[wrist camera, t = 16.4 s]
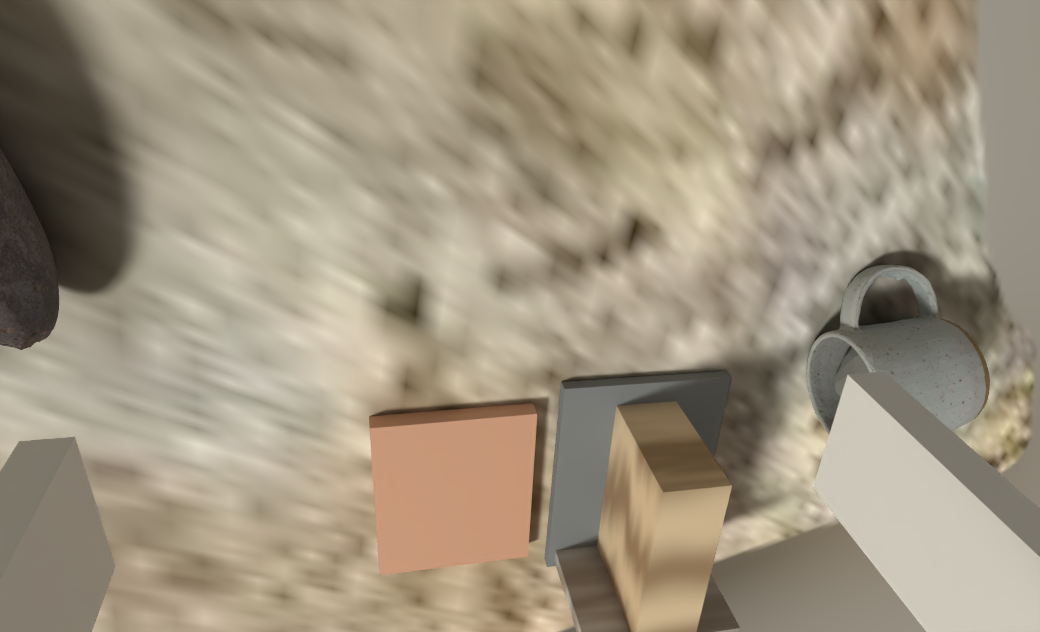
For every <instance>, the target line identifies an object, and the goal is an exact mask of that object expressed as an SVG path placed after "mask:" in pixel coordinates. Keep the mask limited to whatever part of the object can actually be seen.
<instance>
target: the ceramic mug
mask: <svg viewBox="0 0 1040 632" xmlns="http://www.w3.org/2000/svg"><path fill="white" fill-rule="evenodd" d="M878 277H892V278H894V279H896V280H900V279H906V280H907V281H908V283H909V284H910V285H911V287H912V289H913V292H914V294H915V295H916V300H917V304H918V313H919V315H918V317H917V318H910V319H903V320H898V321H895V322H889V323H881V324H873V325H864V326H859V324H858V322H859V316H860V310H861V305H862V302H863V298H864V295H865V293H866V291H867V290H868V288H869V286H871V285H872V284H873V282H874V280H875V279H876V278H878ZM874 372H885V373H886V374H887V375H889V376H890V377H891V378H892V379H893V380H894V381H895V382H896V383H898V384H899V385H900V386H901V387H902V388H903V389H904V390H906V391H907V392H908V393H909V394H910V395H911V396H912V397H914V398H915V399H916V400H917V401H918V402H919V403H920V404H921V405H923V406H924V407H925V408H926V409H927V410H928V411H929V412H931V413H932V414H933V415H934V416H935V417H936V418H937V419H939V420H940V421H941V422H942V423H943V424H944V425H945V426H947V427H948V428H949V429H950V430H951V431H952V430H954V429H956V428H959V427H961V426H962V425H964V424H966V423H968V422H970V421H971V420H973V419H974V418H976V417H977V416H978V415H979V414H980V412H981V411H982V409H983V408H984V406H985V404H986V402H987V399H988V395H989V384H990V379H989V371H988V368H987V364H986V361H985V359H984V356H983V354H982V352H981V350H980V349H979V347H978V345H977V343H976V342H975V341H974V340H973V339H972V338H971V337H970V336H969V335H968V333H967V332H965V331H964V330H963V329H962V328H960V327H959V326H958V325H956V324H954V323H952V322H949V321H947V320H943V319H939V318H938V302H937V299H936V294H935V292H934V290H933V287H932V285H931V283H930V282H929V280H928V279H927V278H926V277H925V276H924V275H923V274H921V273H920V272H918V271H917V270H915V269H913V268H911V267H907V266H901V265H877V266H873V267H870V268H867V269H865V270H864V271H862V272H860V273H859V274H858V275H857V276H856V277H855V278H854V279H853V280H852V281H851V283H850V284H849V285H848V288H847V290H846V291H845V293H844V297H843V300H842V307H841V314H840V327H839V329H837V330H833V331H829V332H826V333H824V334H822V335H821V336H819V337H818V338H817V339H816V340H815V342H814V343H813V345H812V347H811V349H810V352H809V356H808V360H807V373H806V374H807V387H808V391H809V394H810V399H811V402H812V405H813V408H814V410H815V413H816V415H817V417H818V419H819V420H820V422H821V424H822V426H823V427H824V429H825V430H826V431H827V433H828V434H830V431H831V427H832V424H833V421H834V418H835V414H836V411H837V408H838V405H839V401H840V398H841V395H842V391H843V388H844V385H845V382H846V378H847V375H849V374H861V373H874Z"/></svg>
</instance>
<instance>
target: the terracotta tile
mask: <svg viewBox="0 0 1040 632" xmlns="http://www.w3.org/2000/svg"><path fill="white" fill-rule="evenodd" d="M369 423H370V440H371V455H372V469H373V484H374V498H375V513H376V528H377V542H378V557H379V572H380V575H385V574H393V573H401V572H409V571H417V570H425V569H433V568H441V567H449V566H457V565H465V564H473V563H481V562H488V561H496V560H504V559H512V558H520V557H528V548H529V532H530V517H531V502H532V487H533V472H534V456H535V441H536V426H537V412H536V409H535V406H534V404H533V403H526V404H514V405H502V406H489V407H477V408H465V409H453V410H441V411H429V412H416V413H404V414H392V415H380V416H369Z"/></svg>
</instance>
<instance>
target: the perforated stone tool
mask: <svg viewBox="0 0 1040 632" xmlns="http://www.w3.org/2000/svg"><path fill="white" fill-rule="evenodd" d="M58 310H59V288H58V278H57V273H56V267H55V262H54V258H53V255H52V251H51V248H50V245H49V242H48V239H47V237H46V234H45V231H44V229H43V227H42V225H41V223H40V221H39V219H38V217H37V215H36V212H35V210H34V208H33V206H32V204H31V202H30V200H29V198H28V197H27V195H26V193H25V191H24V188H23V187H22V185H21V183H20V181H19V179H18V178H17V176H16V174H15V172H14V171H13V169H12V167H11V165H10V163H9V161H8V160H7V158H6V156H5V154H4V153H3V151H2V149H1V147H0V344H1V345H3V346H9V347H14V348H17V349H20V350H22V349H24V348H28V347H31V346H32V345H33V344H34V343H36V342H40V341H41V340H43V339H45V338H47V337H48V336H49V335H50V333H51V331H52V330H53V329H54V326H55V323H56V321H57V317H58Z"/></svg>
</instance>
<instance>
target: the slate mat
mask: <svg viewBox="0 0 1040 632" xmlns="http://www.w3.org/2000/svg"><path fill="white" fill-rule="evenodd" d="M731 378H732V377H731V376H730V375H729V374H728V372H727V371H714V372H700V373H685V374H670V375H655V376H641V377H626V378H611V379H597V380H582V381H567V382H561V391H560V401H559V412H558V422H557V433H556V444H555V454H554V465H553V475H552V486H551V497H550V507H549V518H548V528H547V539H546V549H545V561H546V564H547V567H549V566H556V564H555V552H556V551H558V550H566V549H575V548H584V547H593V546H597V542H598V535H599V528H600V521H601V513H602V506H603V499H604V492H605V485H606V478H607V470H608V463H609V456H610V449H611V442H612V435H613V427H614V420H615V413H616V406H620V405H633V404H646V403H659V402H672V401H677V403H678V404H679V406H680V407H681V409H682V410H683V412H684V413H685V415H686V416H687V418H688V419H689V421H690V422H691V424H692V425H693V427H694V428H695V430H696V432H697V433H698V435H699V436H700V438H701V439H702V441H703V442H704V444H705V445H706V447H707V448H708V450H709V451H710V453H711V454H712V456H713V457H714V454H715V449H716V445H717V440H718V436H719V432H720V427H721V423H722V418H723V414H724V409H725V405H726V400H727V396H728V391H729V387H730V383H731Z"/></svg>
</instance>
